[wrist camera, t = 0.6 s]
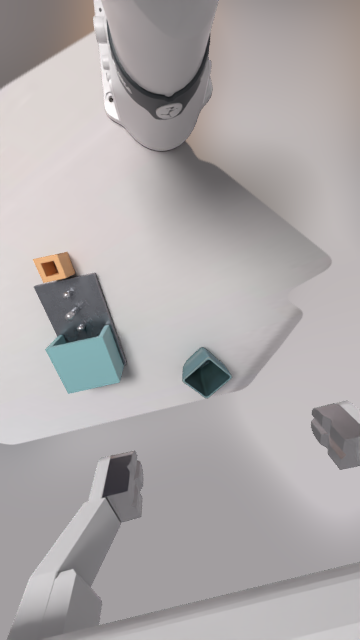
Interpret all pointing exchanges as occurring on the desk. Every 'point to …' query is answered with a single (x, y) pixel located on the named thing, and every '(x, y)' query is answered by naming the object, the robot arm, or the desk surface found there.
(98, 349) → the cover
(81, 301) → the housing base
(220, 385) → the flower pot
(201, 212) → the desk surface
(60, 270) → the hollow square tube
